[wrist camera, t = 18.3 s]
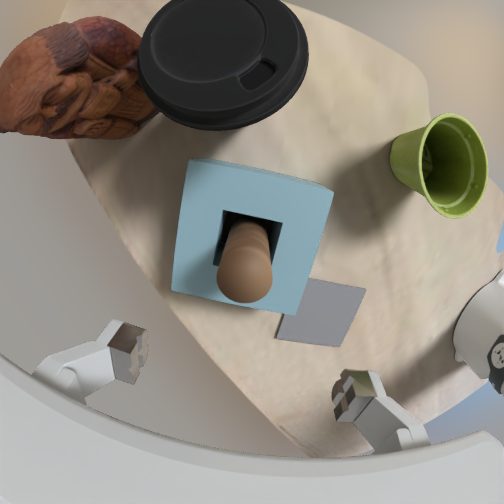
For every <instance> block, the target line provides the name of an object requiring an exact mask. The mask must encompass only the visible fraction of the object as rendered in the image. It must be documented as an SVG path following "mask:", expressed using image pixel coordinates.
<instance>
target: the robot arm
mask: <svg viewBox="0 0 504 504" xmlns="http://www.w3.org/2000/svg"><path fill="white" fill-rule="evenodd" d="M147 338H148V331H147V330H146V329H143V328H140V327H137V326H135V325H131V324H129V323H126V322H122V321H120V320H117V319H112V320H111V321H110V323H109V324H108V325H107V326H106V328H105V329H104V330H103V331H102V333H101V334H100V335H99V337H98V338H97V339H96V340H95V341H92V340H91V341H88V342H86V343H83V344H80V345H77V346H74V347H72V348H69V349H66V350H63V351H60V352H57V353H55V354H52V355H49V356H46V357H45V359H44V360H43V361H42V362H41V363H40V365H39V366H38V367H37V368H36V370H35V371H34V372H33V373H32V375H30V374H29V373H28V372H26V371H24V370H23V369H22V368H20V367H18V366H17V365H16V364H14V363H13V362H12V361H10V360H9V359H7V358H6V357H5V356H3V355H2V354H1V353H0V504H504V448H503V446H502V444H501V443H500V442H499V441H498V440H497V439H496V438H494V437H493V436H492V435H490V434H489V433H487V432H485V431H482V430H481V431H477V432H474V433H471V434H468V435H465V436H462V437H458V438H455V439H452V440H448V441H444V442H441V443H437V444H433V445H431V444H430V441H429V439H428V436H427V434H426V431H425V428H424V426H423V425H422V424H421V423H420V422H419V421H418V420H416V419H415V418H414V417H413V416H412V415H411V414H409V413H408V412H407V411H406V410H405V409H403V408H402V407H401V406H400V405H399V404H398V403H396V402H395V401H394V400H393V399H392V398H391V397H387V395H386V392H385V390H384V387H383V385H382V382H381V380H380V377H379V375H378V372H377V371H375V370H355V369H344V370H343V371H342V373H341V374H340V376H341V379H340V380H338V381H336V383H335V384H334V386H333V389H332V402H333V403H334V404H335V405H336V407H335V409H334V413H335V418H336V422H354V425H355V426H356V427H357V428H358V430H359V431H360V432H361V433H362V435H363V436H364V437H365V438H366V440H367V441H368V442H369V443H370V445H371V446H372V447H373V448H374V450H375V451H374V452H373V453H372V454H371V455H365V456H352V457H329V458H307V457H306V458H305V457H283V456H270V455H260V454H252V453H244V452H237V451H231V450H225V449H219V448H214V447H208V446H204V445H200V444H195V443H191V442H187V441H183V440H179V439H175V438H172V437H168V436H165V435H161V434H158V433H155V432H152V431H149V430H146V429H143V428H140V427H137V426H134V425H131V424H129V423H126V422H123V421H121V420H118V419H116V418H113V417H111V416H109V415H106V414H104V413H101V412H99V411H97V410H95V409H93V408H90V407H88V406H87V404H86V402H85V399H84V397H86V396H88V395H90V394H91V393H93V392H95V391H97V390H98V389H100V388H101V387H103V386H105V385H107V384H108V383H110V382H112V381H113V380H115V379H119V380H122V381H124V382H127V383H130V384H133V385H134V384H135V382H136V380H137V378H138V376H139V374H140V372H139V368H140V367H142V366H144V364H145V362H146V358H147V355H148V344H147V343H146V340H147ZM453 343H454V346H455V348H456V352H455V360H456V361H457V362H462V361H465V362H466V364H467V365H468V366H469V367H470V368H471V369H472V370H473V372H474V373H475V374H476V375H477V376H478V377H479V378H480V379H486V378H489V381H490V382H491V384H492V386H493V388H494V389H495V390H496V391H497V392H498V393H499V394H503V396H504V270H502V271H501V272H500V273H499V274H498V275H497V276H496V278H495V279H494V280H493V281H492V282H491V283H489V284H487V285H486V286H485V287H483V288H482V289H481V290H480V291H479V292H478V293H477V294H476V295H475V296H474V297H473V298H472V300H471V301H470V302H469V303H468V305H467V306H466V308H465V309H464V311H463V313H462V314H461V316H460V318H459V320H458V323H457V325H456V328H455V331H454V336H453Z"/></svg>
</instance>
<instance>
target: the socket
mask: <svg viewBox="0 0 504 504" xmlns="http://www.w3.org/2000/svg"><path fill="white" fill-rule="evenodd" d="M333 196H334V192H333V191H331V190H329V189H328V188H326V187H324V186H322V185H320V184H319V183H315V182H311V181H308V180H304V179H300V178H296V177H292V176H288V175H284V174H280V173H276V172H271V171H267V170H263V169H258V168H254V167H249V166H244V165H239V164H234V163H229V162H224V161H219V160H213V159H208V158H197V159H191V160H189V161H188V166H187V172H186V178H185V184H184V190H183V196H182V202H181V209H180V216H179V223H178V230H177V238H176V246H175V255H174V264H173V273H172V284H171V291H175V292H180V293H184V294H188V295H193V296H197V297H202V298H206V299H211V300H215V301H220V302H225V303H230V304H235V305H240V306H245V307H250V308H255V309H261V310H266V311H272V312H277V313H283V314H289V315H296V312H297V309H298V306H299V304H300V301H301V298H302V295H303V292H304V289H305V286H306V283H307V280H308V278H309V275H310V272H311V268H312V265H313V262H314V259H315V256H316V253H317V250H318V247H319V243H320V240H321V237H322V234H323V230H324V227H325V224H326V220H327V217H328V213H329V210H330V206H331V203H332V199H333ZM227 211H231V212H236V213H241V214H245V215H250V216H255V217H259V218H264V219H268V220H273V221H274V224H273V228H272V232H271V236H270V240H269V251H270V259H271V267H272V276H273V282H272V286H271V289H270V290H269V292H268V293H267V294H266V296H264V297H263V298H262V299H260V300H258V301H256V302H253V303H237V302H234V301H232V300H230V299H228V298H227V297H226V296H224V295H223V293H222V292H221V291H220V289H219V287H218V285H217V279H216V276H217V271H218V268H219V264H220V261H221V258H222V254H223V251H224V248H225V245H226V243H221V239H222V234H223V229H224V224H225V219H226V214H227Z"/></svg>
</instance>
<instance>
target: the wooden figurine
mask: <svg viewBox="0 0 504 504" xmlns="http://www.w3.org/2000/svg"><path fill="white" fill-rule="evenodd" d="M141 40H142V38H141V37H140V36H139V35H138V34H137V33H136V32H134V31H133V30H131V29H130V28H128V27H127V26H125V25H124V24H122V23H120V22H118V21H116V20H112V19H109V18H106V17H101V16H95V17H86V18H83V19H79V20H77V21H75V22H73V23H71V24H70V23H68V22H63V23H60V24H56V25H53V26H50V27H48V28H44V29H41V30H39V31H37V32H36V33H34V34H33V35H32V36H31V37H28V38H27V39H25V40H24V41H23V42H21V43H20V44H19V45H18V46H17V47H16V48H15V49H14V50H13V51H12V52H11V53H10V54H9V56H8V57H7V58H6V59H5V61H4V62H3V64H2V66H1V68H0V133H6V132H9V131H10V132H19V133H21V134H24V135H35V136H41V137H48V138H50V139H72V138H75V139H78V138H92V139H121V138H126V137H128V136H131V135H133V134H134V133H136V132H137V131H138V129H139V124H140V123H142V122H144V121H146V120H148V119H149V118H151V117H152V116H154V115H155V114H157V113H158V112H159V110H158V109H157V108H156V107H155V106H154V105H153V104H152V102H151V101H150V100H149V99H148V97H147V96H146V94H145V93H144V91H143V89H142V87H141V84H140V81H139V78H138V73H137V55H138V50H139V46H140V43H141Z"/></svg>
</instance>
